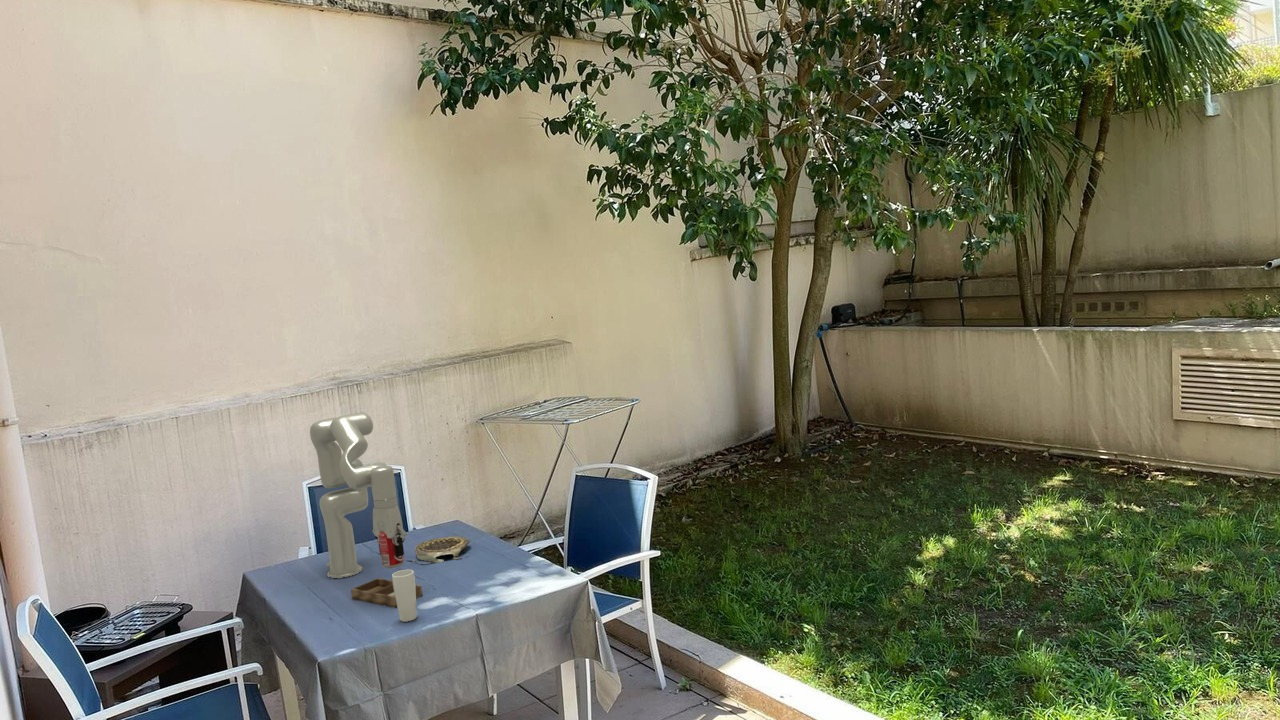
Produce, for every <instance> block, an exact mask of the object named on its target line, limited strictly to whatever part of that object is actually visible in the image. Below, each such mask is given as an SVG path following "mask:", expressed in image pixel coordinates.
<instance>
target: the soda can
mask: <svg viewBox="0 0 1280 720" xmlns="http://www.w3.org/2000/svg"><path fill="white" fill-rule="evenodd" d="M379 531H380V532H379V534H378V536H379V543H380V549H379V552H380V551H381V555H380V557H381V563H382V564H381V565H382V566H383V567H384V568H385V569H394V568H398V567H401V566H403V564H404V562H405V554H404V555H402V556H399V557H396V556H395V549H394V546H395V543H394V541H393V538H392V539H389V538H387V535H386V534H385V532H384V531H381V530H379ZM396 535H399V533H398V532H397V533H396ZM398 539H399V537H397V541H398ZM379 543H378V544H379Z"/></svg>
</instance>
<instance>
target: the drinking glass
mask: <svg viewBox="0 0 1280 720" xmlns="http://www.w3.org/2000/svg"><path fill="white" fill-rule="evenodd" d="M391 580H392V581H393V588H394V593H395V598H396V602H397V611H398V617H399V620H400V622H403V623H407V622H408V621H409V622H412V621H415V620H416V619H417V617H418V613H417V598H416V585H417V584H416V577H415V572H414V570H412V569H401V570H398V571H395V572H393V573H392V574H391ZM415 584H416V585H415ZM409 622H408V623H409Z"/></svg>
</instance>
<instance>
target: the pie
mask: <svg viewBox="0 0 1280 720" xmlns="http://www.w3.org/2000/svg"><path fill="white" fill-rule="evenodd" d="M470 541H471V540H470V539H469V538H468V537H463V536H446V537H439V538H432V539H430V540H427V541H426V540H425V541H423V542H421V543H418V544H417V545H415V547H414V553H415V554H416V555H417V557H418V558H419V559H418V558H417V557H416V558H417V559H418V560H420V559H421V560H420V561H423V560H424V561H423V562H429V563H425V564H424V563H423V565H424V566H425V565H431V564H434V563H436V564H438V562H439V563H443V562H442V561H444V560H445V559H442V558H437V557H440V556H445V555H453V557H452V560H455V559H460V560H463V559H462V558H463V557H458V556H457V555H459V556H460V554H461V553H462V552H463V550H464V549H465V548H466V547H467V546H468V544H469V543H470ZM461 551H462V552H461ZM455 556H457V557H455ZM415 561H416V560H413V562H415ZM444 562H445V561H444ZM415 563H416V562H415ZM418 564H419V565H421V562H418Z"/></svg>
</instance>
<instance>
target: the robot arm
mask: <svg viewBox="0 0 1280 720" xmlns="http://www.w3.org/2000/svg"><path fill="white" fill-rule="evenodd" d="M373 430H374V423H373V420H372V418H371V416H370V415H368V413H366V412H357V413H350V414H345V415H341V416H337V417H331V418H326V419H325V418H324V419H321V420H318V421H315V422H313V423H312V424H311V426H310V428H309V436H310V440H311V443H312V444H313V447H314V450H315V451H316V455H317V462H318V469H319V477H320V482H321V484H322V486H323V487H324V489H325V488H326V489H336V488H340V487H345V486H348V487H345V488H341V489H337V490H332V491H329V492H327V493H324V494H322V496H321V497H320V499H319V502H318V503H319V508H320V512H321V515H322V517H323V522H324V523H323V524H324V527H325V533H326V542H327V549H328V556H329V557H328V558H329V562H327V563H326V567H329V571H328V572H327V573H326V574H327V576H329V577H334V578H338V579H344V578H343V577H345V578H348V577H349V576H350V577H352V575H353V576H356V575H358V574H359V572H360V573H361V572H362V571H363V566H362V565H361V564H358V560H357V553H356V552H357V551H356V544H355V543H356V542H355V536H354V535H355V534H354V528H353V525H352V523H351V521H350V520H348V519H347V518H346V517H345V516H346V515H349V514H354V513H356V512H362V511H363V510H365V509H367V508H368V505H369V494H368V493H369V492H368V488H371V493H372V499H373V510H372V525H373V526H372V527H373V529H372V531H371V532H372V534H373V535H374V538H376V542H377V544H378V548H379V549H378V550H379V554H380V556H381V551H380V543H379V536H378V534H379V532H380V531H379V530H381V531H384V532H385V534H386V535H387V538H389V539H392V538H393V541H394V543H395V546H394V549H395V556H396V557H399V556H402V555H404V556H405V550H404V543H405V541H406V537H407V536H408V534H407V532H406V531H405V529H404V527H403V520H402V515H401V512H400V509H399V505H398V498H397V488H396V482H395V471H394V468H393V467H392V466H390V465H387V464H386V463H385V462H382V461H381V462H379V461H378V462H375V463H371V464H370V463H368V464H363V462H362V461H361V460H360V459H359V458H361V456H363V455H364V454H365V452H366V451H367V450H368V447H369V446H368V441H367V439H366V437H364V436H368V435H370V434H372V432H373ZM342 452H343V453H342ZM397 532H398V533H399V535H396V533H397ZM397 537H399V539H398V541H397ZM355 574H356V575H355ZM329 577H328V578H329Z"/></svg>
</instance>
